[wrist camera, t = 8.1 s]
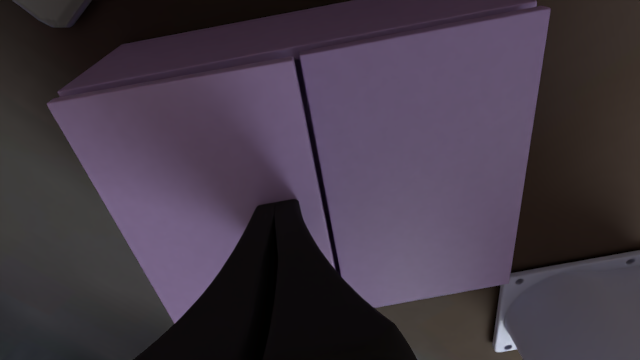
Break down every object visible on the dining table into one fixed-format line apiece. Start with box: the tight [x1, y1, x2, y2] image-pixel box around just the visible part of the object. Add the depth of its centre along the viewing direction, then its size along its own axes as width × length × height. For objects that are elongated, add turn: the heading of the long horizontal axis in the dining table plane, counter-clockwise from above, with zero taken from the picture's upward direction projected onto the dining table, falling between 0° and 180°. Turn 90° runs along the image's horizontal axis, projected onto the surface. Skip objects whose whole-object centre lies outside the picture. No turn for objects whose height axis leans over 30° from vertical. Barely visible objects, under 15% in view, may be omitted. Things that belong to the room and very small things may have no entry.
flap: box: [47, 56, 336, 324], centre depth 13 cm, size 7×11×1 cm, turn 9°
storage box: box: [58, 0, 551, 308], centre depth 16 cm, size 14×11×6 cm
